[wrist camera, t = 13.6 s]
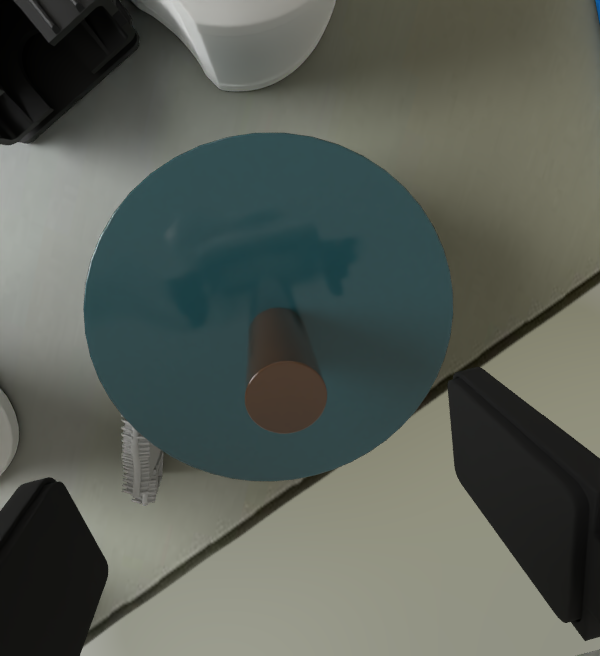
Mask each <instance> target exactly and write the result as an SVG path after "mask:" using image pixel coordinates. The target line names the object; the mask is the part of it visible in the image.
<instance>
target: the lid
mask: <svg viewBox="0 0 600 656" xmlns="http://www.w3.org/2000/svg"><path fill="white" fill-rule="evenodd" d="M452 319H453V290H452V283H451V276H450V270H449V266H448V263H447V259H446V256H445V252H444V249H443V246H442V244H441V242H440V240H439V237H438V235H437V233H436V231H435V228H434V226H433V225H432V223H431V222H430V220H429V218H428V217H427V215H426V214H425V212H424V210H423V209H422V207H421V206H420V205H419V204H418V202H417V201H416V200H415V199H414V198H413V196H412V195H411V194H410V193H409V192H408V191H407V189H406V188H405V187H404V186H403V185H402V184H400V183H399V182H398V181H397V180H396V179H395V178H394V177H392V176H391V175H390V174H389V173H388V172H387V171H386V170H384V169H383V168H381V167H380V166H378V165H376V164H375V163H373V162H372V161H370V160H369V159H367V158H366V157H364V156H362V155H360V154H358V153H356V152H354V151H352V150H349V149H347V148H345V147H343V146H341V145H339V144H335V143H332V142H328V141H325V140H322V139H318V138H315V137H311V136H304V135H297V134H290V133H251V134H245V135H238V136H231V137H226V138H223V139H219V140H216V141H213V142H210V143H206V144H203V145H200V146H198V147H196V148H194V149H191V150H189V151H187V152H185V153H183V154H181V155H179V156H177V157H175V158H173V159H172V160H170V161H169V162H167V163H166V164H164V165H163V166H161V167H160V168H158V169H157V170H155V171H154V172H152V173H151V174H150V175H149V176H147V177H146V178H145V179H144V180H143V181H142V182H141V183H140V184H139V185H138V186H137V187H135V188H134V189H133V190H132V191H131V192H130V193H129V195H128V196H127V197H126V198H125V200H124V201H123V202H122V203H121V204H120V206H119V207H118V208H117V209H116V211H115V212H114V213H113V215H112V217H111V218H110V220H109V222H108V224H107V225H106V227H105V229H104V230H103V232H102V234H101V236H100V238H99V241H98V243H97V246H96V248H95V251H94V253H93V256H92V258H91V262H90V266H89V270H88V275H87V279H86V283H85V295H84V323H85V334H86V339H87V343H88V348H89V352H90V357H91V359H92V362H93V365H94V367H95V370H96V373H97V375H98V378H99V380H100V382H101V383H102V385H103V387H104V389H105V391H106V393H107V394H108V396H109V398H110V399H111V401H112V402H113V404H114V405H115V406H116V408H117V409H118V410H119V412H120V413H121V415H122V416H123V417H124V418H125V419H126V420H127V421H128V422H129V423H130V424H131V425H132V426H133V428H134V429H135V430H136V431H137V432H138V433H140V434H141V435H142V436H143V437H144V438H146V439H147V440H148V441H149V442H150V443H152V444H153V445H154V446H156V447H157V448H159V449H160V450H162V451H163V452H165V453H167V454H168V455H170V456H171V457H173V458H175V459H177V460H179V461H181V462H183V463H185V464H187V465H189V466H191V467H194V468H197V469H200V470H203V471H205V472H208V473H211V474H215V475H219V476H224V477H228V478H232V479H240V480H248V481H283V480H294V479H299V478H304V477H309V476H314V475H317V474H321V473H324V472H327V471H331V470H334V469H336V468H338V467H341V466H343V465H345V464H348V463H350V462H352V461H354V460H356V459H357V458H359V457H361V456H363V455H365V454H366V453H368V452H370V451H371V450H373V449H374V448H376V447H377V446H379V445H380V444H381V443H383V442H384V441H386V440H387V439H388V438H389V437H390V436H391V435H392V434H394V433H395V432H396V431H397V430H398V429H399V428H400V427H402V425H403V424H404V423H405V422H406V421H407V420H408V419H409V418H410V417H411V416H412V414H413V413H414V412H415V411H416V410H417V408H418V407H419V405H420V404H421V403H422V401H423V400H424V398H425V397H426V396H427V394H428V392H429V390H430V389H431V387H432V385H433V383H434V381H435V380H436V378H437V376H438V373H439V371H440V368H441V366H442V363H443V361H444V358H445V355H446V351H447V347H448V343H449V340H450V335H451V327H452Z"/></svg>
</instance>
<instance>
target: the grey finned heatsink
mask: <svg viewBox="0 0 600 656" xmlns="http://www.w3.org/2000/svg"><path fill="white" fill-rule="evenodd" d="M121 416H122V415H121ZM122 417H123V416H122ZM122 422H125V426H124V427H123V426H122V427H121V429H122V430H124V433H122V434H121V436H123V439H122V440H121V441H122V442H123V443H124V444H122V447H124V448H123V449H122V451H124V452H122V455H121V457H122V460H121V461H123V462H122V464H124V465H123V468H125V469H123V471H124V472H127V474H125V473H124V474H123V476H124V477H127V479H125V478H123V481H125V482H127V484H124V483H123V485H122V486H124V487H127V489H122V492H126V493H129V494H132V496H133V498H135V499H132V500H131V501H133V502H136V503H140V504H141V503H142V505H143V506H146V505H148V503H153V502H155V496H156V494H157V492H158V489H159V486H160V483H161V480H162V470H163V451H162V450H160V449H159V448H157V447H156V446H154V445H153V444H152V443H150V442H149V441H148V440H147V439H146V438H144V437H143V436H142V435H141V434H140V433H138V432H137V431H136V430H135V429H134V428H133V426H132V425H131V424H130V423H129V422H128V421H127V420H126V419H122ZM126 465H127V466H126Z"/></svg>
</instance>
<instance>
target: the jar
mask: <svg viewBox="0 0 600 656" xmlns="http://www.w3.org/2000/svg"><path fill="white" fill-rule="evenodd" d="M131 1H132V2H133V3H134V4H135V5H136V6H137V7H138V8H139V9H140V10H142V11H144V12H146V13H148V14H150V15H151V16H153V17H154V18H156V19H157V20H158V21H160V22H161V23H162V24H164V25H165V26H166V27H167V28H169V29H170V30H171V31H172V32H173V33H174V34H175V35H176V36H177V37H178V38H179V39H180V40H181V41H182V42H183V43H184V44H185V45H186V46H187V48H188V49H189V50H190V51H191V53H192V54H193V55H194V57H195V58H196V60H197V61H198V62H199V64H200V65H201V67H202V69H203V71H204V73H205V75H206V76H207V77H208V78H209V79H210V80H211V81H212V82H213V83H214V84H215V85H216V86H217V87H218V88H219V89H220V90H225V91H250V90H256V89H260V88H264V87H267V86H269V85H272V84H274V83H276V82H278V81H280V80H282V79H283V78H285V77H287V76H288V75H289V74H291V73H292V72H293V71H295V70H296V69H297V68H298V67H299V66H300V65H301V64H302V63H303V62H304V61H305V60H306V59H307V58H308V56H309V55H310V54H311V53H312V51H313V50H314V48H315V47H316V45H317V44H318V42H319V40H320V39H321V37H322V35H323V33H324V31H325V29H326V26H327V24H328V22H329V19H330V17H331V14H332V12H333V9H334V6H335V2H336V0H131Z"/></svg>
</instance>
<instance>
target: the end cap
mask: <svg viewBox="0 0 600 656" xmlns="http://www.w3.org/2000/svg"><path fill="white" fill-rule="evenodd" d="M138 46H139V36H138V34H137V32H136V30H135V29H134V27H133V26H132V21H131V16H130V15H129V14H128V12H127V11H126V9H125V8H124V7H123V5H122V4H121V3H120V1H119V0H0V144H3V145H12V144H14V143H16V142H22V143H27V144H28V143H31V142H33V141H34V140H35V139H36V138H37V137H38V136H40V135H41V134H42V133H43V132H44V131H45V130H46V129H47V128H49V127H50V126H51V125H52V124H53V123H54V122H55V121H56V120H58V119H59V118H60V117H61V116H62V115H63V114H64V113H65V112H67V111H68V110H69V109H70V108H71V107H72V106H73V105H74V104H76V103H77V102H78V101H79V100H80V99H81V98H82V97H83V96H85V95H86V94H87V93H88V92H89V91H90V90H91V89H92V88H94V87H95V86H96V85H97V84H98V83H99V82H100V81H101V80H103V79H104V78H105V77H106V76H107V75H108V74H109V73H110V72H112V71H113V70H114V69H115V68H116V67H117V66H118V65H119V64H121V63H122V62H123V61H124V60H125V59H126V58H127V57H128V56H130V55H131V54H132V53H133V52H134V51H135V50H136V49H137V48H138Z"/></svg>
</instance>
